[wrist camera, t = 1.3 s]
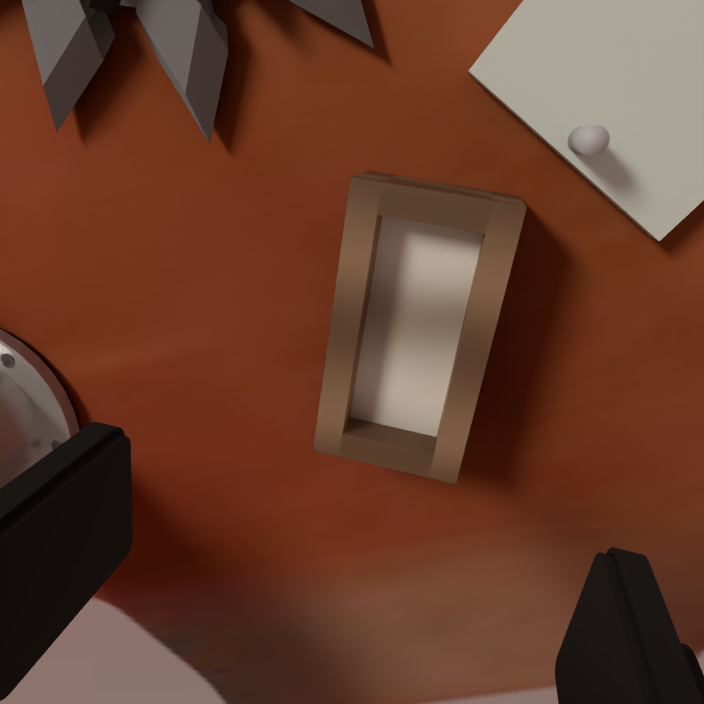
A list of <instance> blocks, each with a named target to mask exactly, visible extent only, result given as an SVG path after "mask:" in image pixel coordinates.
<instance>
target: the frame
mask: <svg viewBox="0 0 704 704" xmlns="http://www.w3.org/2000/svg"><path fill="white" fill-rule="evenodd" d="M526 209H527V206H526V205H525V203H524V202H523V201H522V200H521V198H520V197H519V196H514V195H508V194H502V193H496V192H490V191H484V190H479V189H473V188H467V187H461V186H455V185H449V184H443V183H437V182H431V181H425V180H419V179H413V178H407V177H401V176H395V175H389V174H383V173H377V172H372V171H368V172H365V173H362V174H358V175H355V176H352V177H351V180H350V187H349V194H348V201H347V209H346V216H345V223H344V230H343V238H342V245H341V252H340V259H339V267H338V274H337V281H336V288H335V296H334V303H333V310H332V317H331V325H330V332H329V339H328V346H327V354H326V361H325V368H324V375H323V383H322V390H321V397H320V404H319V412H318V419H317V426H316V433H315V441H314V448H313V450H314V451H318V452H322V453H327V454H331V455H335V456H339V457H343V458H348V459H352V460H356V461H360V462H364V463H369V464H373V465H377V466H381V467H385V468H389V469H394V470H398V471H402V472H406V473H410V474H415V475H419V476H423V477H427V478H431V479H436V480H440V481H444V482H448V483H452V484H456V482H457V478H458V474H459V470H460V466H461V462H462V458H463V454H464V451H465V447H466V443H467V439H468V435H469V431H470V427H471V423H472V419H473V415H474V412H475V408H476V404H477V400H478V396H479V392H480V388H481V384H482V380H483V376H484V373H485V369H486V365H487V361H488V357H489V353H490V349H491V345H492V341H493V338H494V334H495V330H496V326H497V322H498V318H499V314H500V310H501V306H502V302H503V299H504V295H505V291H506V287H507V283H508V279H509V275H510V271H511V267H512V263H513V260H514V256H515V252H516V248H517V244H518V240H519V236H520V232H521V228H522V224H523V221H524V217H525V213H526Z"/></svg>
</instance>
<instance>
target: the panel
mask: <svg viewBox="0 0 704 704" xmlns="http://www.w3.org/2000/svg"><path fill="white" fill-rule="evenodd" d="M469 75H470V76H471V77H473V78H474V79H475V80H476V81H477V82H478V83H479V84H480V85H481V86H483V87H484V88H485V89H486V90H487V91H488V92H489V93H490V94H492V95H493V96H494V97H495V98H496V99H497V100H498V101H499V102H501V103H502V104H503V105H504V106H505V107H506V108H507V109H508V110H509V111H511V112H512V113H513V114H514V115H515V116H516V117H517V118H518V119H520V120H521V121H522V122H523V123H524V124H525V125H526V126H527V127H529V128H530V129H531V130H532V131H533V132H534V133H535V134H536V135H537V136H539V137H540V138H541V139H542V140H543V141H544V142H545V143H546V144H548V145H549V146H550V147H551V148H552V149H553V150H554V151H555V152H557V153H558V154H559V155H560V156H561V157H562V158H563V159H564V160H565V161H567V162H568V163H569V164H570V165H571V166H572V167H573V168H574V169H576V170H577V171H578V172H579V173H580V174H581V175H582V176H583V177H585V178H586V179H587V180H588V181H589V182H590V183H591V184H592V185H593V186H595V187H596V188H597V189H598V190H599V191H600V192H601V193H602V194H604V195H605V196H606V197H607V198H608V199H609V200H610V201H611V202H613V203H614V204H615V205H616V206H617V207H618V208H619V209H620V210H621V211H623V212H624V213H625V214H626V215H627V216H628V217H629V218H630V219H632V220H633V221H634V222H635V223H636V224H637V225H638V226H639V227H641V228H642V229H643V230H644V231H645V232H646V233H647V234H648V235H649V236H651V237H652V238H654V239H656V240H658V241H660V240H661V239H662V238H664V237H665V236H666V235H667V234H668V233H669V232H670V231H671V230H672V229H673V228H674V227H675V226H676V225H677V224H679V223H680V222H681V221H682V220H683V219H684V218H685V217H686V216H687V215H688V214H689V213H690V212H691V211H692V210H694V209H695V208H696V207H697V206H698V205H699V204H700V203H701V202H702V201H703V200H704V0H523V2H522V3H521V4H520V5H519V7H518V8H517V9H516V11H515V12H514V13H513V14H512V16H511V17H510V18H509V20H508V21H507V22H506V23H505V25H504V26H503V27H502V29H501V30H500V31H499V32H498V34H497V35H496V36H495V38H494V39H493V40H492V41H491V43H490V44H489V45H488V47H487V48H486V49H485V50H484V52H483V53H482V54H481V55H480V57H479V58H478V59H477V61H476V62H475V63H474V64H473V66H472V67H471V68H470V70H469Z"/></svg>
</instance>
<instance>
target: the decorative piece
mask: <svg viewBox="0 0 704 704" xmlns="http://www.w3.org/2000/svg"><path fill="white" fill-rule="evenodd" d="M289 1H291V2H292V3H294V4H296V5H298V6H299V7H301V8H303V9H305V10H307V11H308V12H310V13H312V14H314V15H316V16H317V17H319V18H321V19H323V20H325V21H326V22H328V23H330V24H332V25H333V26H335V27H337V28H339V29H341V30H342V31H344V32H346V33H348V34H350V35H351V36H353V37H355V38H357V39H359V40H360V41H362V42H364V43H366V44H367V45H369V46H371V47H373V48H374V46H373V42H372V39H371V35H370V32H369V28H368V24H367V21H366V17H365V13H364V10H363V6H362V3H361V0H289ZM22 3H23V7H24V11H25V15H26V19H27V23H28V27H29V31H30V35H31V39H32V43H33V47H34V51H35V55H36V59H37V63H38V67H39V71H40V75H41V79H42V83H43V86H44V90H45V93H46V97H47V100H48V104H49V107H50V111H51V114H52V118H53V122H54V125H55V129H56V132H57V131H58V130H59V128H60V127H61V125H62V124H63V122H64V120H65V119H66V117H67V116H68V114H69V113H70V111H71V110H72V108H73V107H74V105H75V104H76V102H77V100H78V99H79V97H80V96H81V94H82V93H83V91H84V90H85V88H86V87H87V85H88V83H89V82H90V80H91V79H92V77H93V76H94V74H95V73H96V71H97V70H98V68H99V66H100V65H101V63H102V62H103V60H104V58H105V56H106V54H107V52H108V50H109V48H110V46H111V44H112V42H113V40H114V38H115V34H114V31H113V29H112V26H111V24H110V21H109V19H108V16H107V14H106V13H108V14H111V15H114V16H116V15H117V12H118V9H119V6H120V5H123V6H129V7H135V8H136V14H137V16H138V18H139V20H140V23H141V25H142V27H143V29H144V31H145V33H146V35H147V37H148V40H149V42H150V44H151V46H152V48H153V50H154V52H155V54H156V56H157V58H158V60H159V62H160V63H161V65H162V67H163V68H164V70H165V71H166V73H167V75H168V76H169V78H170V80H171V81H172V83H173V85H174V86H175V88H176V90H177V91H178V93H179V94H180V96H181V98H182V99H183V101H184V103H185V104H186V106H187V108H188V109H189V111H190V112H191V114H192V116H193V117H194V119H195V121H196V122H197V124H198V126H199V127H200V129H201V131H202V132H203V134H204V135H205V137H206V139H207V140H208V142H209V144H210V140H211V135H212V130H213V125H214V120H215V115H216V110H217V105H218V100H219V95H220V90H221V85H222V81H223V76H224V71H225V66H226V61H227V56H228V36H227V26H226V25H225V24H224V22H223V21H222V20H221V19H220V18H219V17H218V16H217V15H216V14H215V13H214V11H213V5H212V0H22Z"/></svg>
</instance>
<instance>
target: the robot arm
mask: <svg viewBox="0 0 704 704" xmlns="http://www.w3.org/2000/svg"><path fill="white" fill-rule="evenodd" d="M131 544H132V492H131V444H130V439H129V438H128V437H126V436H125V434H124V431H123V429H121V428H119V427H115V426H111V425H107V424H103V423H99V422H92V423H90V424H88V425H87V426H86V427H84V428H83V429H82V430H80V431H79V426H78V422H77V419H76V415H75V412H74V409H73V407H72V405H71V402H70V400H69V398H68V396H67V394H66V392H65V390H64V389H63V387H62V386H61V384H60V383H59V381H58V380H57V378H56V377H55V375H54V373H53V372H52V371H51V370H50V369H49V368H48V367H47V366H46V364H45V363H44V362H43V361H42V360H41V359H40V358H39V357H38V356H37V355H36V354H35V353H34V352H33V351H31V350H30V349H29V348H28V347H27V346H25V345H24V344H23V343H22V342H21V341H19V340H17V339H16V338H14V337H12V336H11V335H9V334H8V333H6V332H4V331H3V330H0V701H1V700H3V699H4V698H6V697H7V696H8V695H9V694H10V693H11V692H12V690H13V689H14V688H15V687H16V686H17V685H18V683H19V682H20V681H21V680H22V679H23V678H24V676H25V675H26V674H27V673H28V672H29V670H30V669H31V668H32V667H33V666H34V665H35V663H36V662H37V661H38V660H39V659H40V657H41V656H42V655H43V654H44V653H45V652H46V650H47V649H48V648H49V647H50V646H51V645H52V643H53V642H54V641H55V640H56V639H57V638H58V636H59V635H60V634H61V633H62V632H63V630H64V629H65V628H66V627H67V626H68V625H69V623H70V622H71V621H72V620H73V619H74V617H75V616H76V615H77V614H78V613H79V612H80V610H81V609H82V608H83V607H84V606H85V605H86V603H87V602H88V601H89V600H90V599H91V597H92V596H93V595H94V594H95V593H96V592H97V590H98V589H99V588H100V587H101V586H102V584H103V583H104V582H105V581H106V580H107V579H108V577H109V576H110V575H111V574H112V573H113V572H114V570H115V569H116V568H117V567H118V566H119V564H120V563H121V562H122V561H123V560H124V559H125V557H126V556H127V554H128V552H129V550H130V548H131ZM555 679H556V687H557V694H558V702H559V704H704V675H703V673H702V670H701V668H700V665H699V663H698V661H697V658H696V656H695V654H694V653H693V651H692V649H691V648H690V647H689V646H687V645H686V644H682V643H680V641H679V638H678V636H677V633H676V630H675V628H674V625H673V623H672V620H671V618H670V615H669V612H668V610H667V607H666V605H665V602H664V600H663V597H662V594H661V592H660V589H659V587H658V584H657V582H656V579H655V576H654V574H653V571H652V569H651V566H650V563H649V561H648V559H647V557H646V556H644V555H642V554H638V553H634V552H629V551H625V550H621V549H617V548H610V549H609V550H608V551H607V553H606V554H603V553H597V555H596V556H595V558H594V561H593V563H592V566H591V569H590V571H589V574H588V577H587V579H586V582H585V585H584V587H583V590H582V592H581V595H580V598H579V600H578V603H577V606H576V608H575V611H574V613H573V616H572V619H571V621H570V624H569V627H568V629H567V632H566V635H565V637H564V640H563V642H562V645H561V648H560V650H559V653H558V656H557V660H556V666H555Z"/></svg>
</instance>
